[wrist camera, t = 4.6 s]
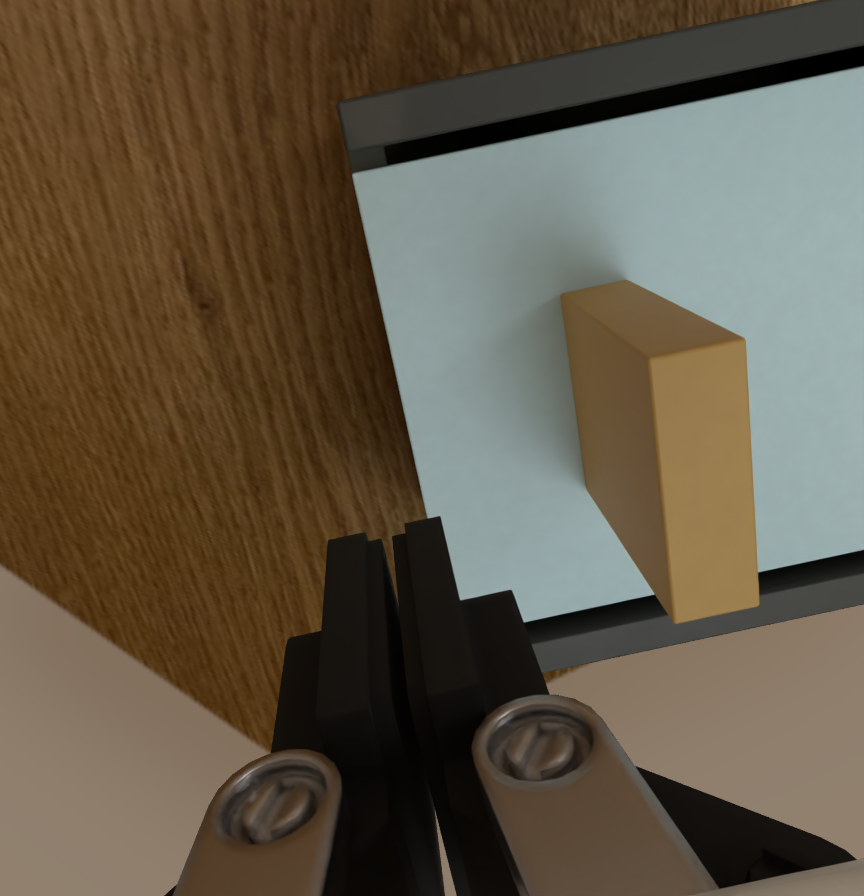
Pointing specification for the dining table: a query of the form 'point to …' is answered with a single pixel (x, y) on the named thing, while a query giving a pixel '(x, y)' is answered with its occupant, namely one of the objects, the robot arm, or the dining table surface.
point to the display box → (596, 99)
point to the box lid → (635, 347)
